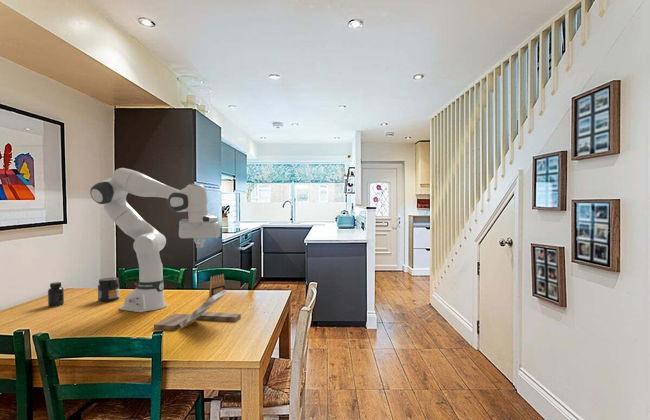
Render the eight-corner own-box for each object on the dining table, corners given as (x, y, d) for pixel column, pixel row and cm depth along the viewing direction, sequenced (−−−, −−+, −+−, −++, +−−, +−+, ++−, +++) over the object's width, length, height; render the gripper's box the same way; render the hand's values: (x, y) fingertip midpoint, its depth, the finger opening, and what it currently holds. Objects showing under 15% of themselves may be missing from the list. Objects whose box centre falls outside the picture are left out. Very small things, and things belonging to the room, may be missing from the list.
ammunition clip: (211, 297, 212) (211, 276, 212) (209, 296, 213) (208, 276, 213) (225, 293, 221) (225, 273, 221) (223, 292, 222) (222, 273, 222)
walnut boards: (153, 329, 158) (153, 324, 158) (181, 314, 178) (181, 310, 178) (220, 333, 152) (220, 328, 152) (240, 317, 173) (240, 313, 173)
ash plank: (181, 327, 158) (179, 324, 158) (196, 319, 169) (193, 315, 170) (214, 299, 155) (212, 296, 155) (227, 292, 167) (224, 289, 167)
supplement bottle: (45, 306, 194) (44, 283, 193) (58, 303, 200) (58, 281, 200) (53, 307, 191) (53, 284, 191) (66, 304, 197) (66, 282, 197)
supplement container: (123, 299, 207) (123, 278, 207) (103, 303, 199) (103, 281, 198) (113, 296, 213) (113, 276, 213) (94, 301, 204) (93, 279, 204)
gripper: (174, 219, 172) (176, 248, 172) (214, 218, 167) (215, 248, 167) (183, 218, 178) (184, 246, 178) (221, 217, 173) (222, 246, 173)
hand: (200, 247), depth 173 cm, fingers closed
